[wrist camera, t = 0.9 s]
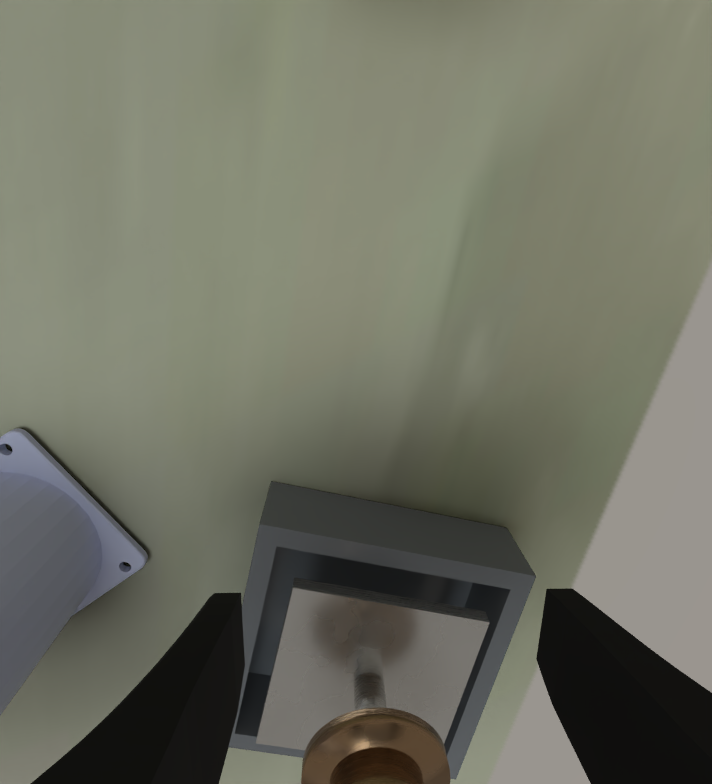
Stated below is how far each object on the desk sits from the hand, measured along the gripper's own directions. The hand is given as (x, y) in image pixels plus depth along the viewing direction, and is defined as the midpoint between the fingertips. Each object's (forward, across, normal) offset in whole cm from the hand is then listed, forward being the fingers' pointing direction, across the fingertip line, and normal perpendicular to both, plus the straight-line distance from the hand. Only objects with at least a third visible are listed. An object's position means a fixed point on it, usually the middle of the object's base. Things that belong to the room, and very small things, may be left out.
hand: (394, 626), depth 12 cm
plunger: (+7, 0, +8) cm, 11 cm away
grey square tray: (+10, 0, +8) cm, 13 cm away
